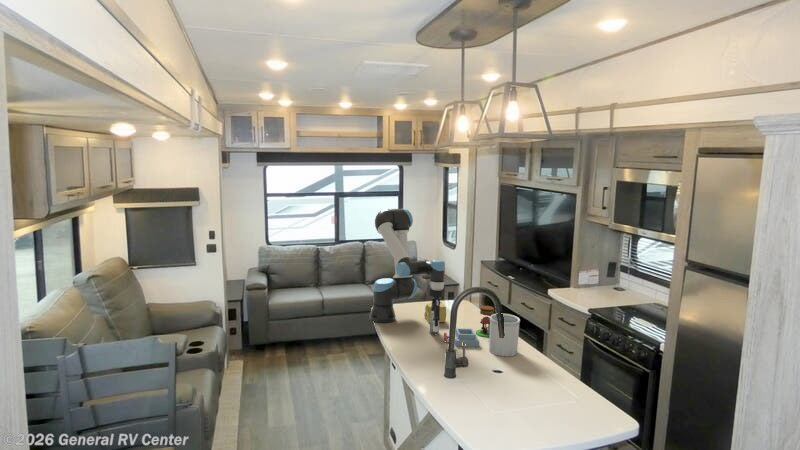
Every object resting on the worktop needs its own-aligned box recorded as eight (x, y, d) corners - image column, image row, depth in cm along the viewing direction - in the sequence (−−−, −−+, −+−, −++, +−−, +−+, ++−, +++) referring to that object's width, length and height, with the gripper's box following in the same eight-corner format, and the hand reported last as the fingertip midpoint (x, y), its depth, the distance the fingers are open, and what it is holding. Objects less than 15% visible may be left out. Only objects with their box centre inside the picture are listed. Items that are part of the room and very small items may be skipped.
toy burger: (472, 336, 267) (474, 309, 265) (476, 328, 279) (478, 303, 277) (494, 339, 263) (496, 312, 261) (497, 332, 275) (499, 306, 273)
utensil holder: (491, 357, 239) (493, 322, 237) (484, 345, 254) (487, 312, 252) (521, 357, 240) (523, 323, 238) (513, 346, 255) (515, 313, 252)
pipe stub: (429, 331, 271) (430, 310, 269) (438, 331, 271) (439, 310, 269) (430, 335, 266) (431, 313, 264) (439, 335, 266) (440, 313, 264)
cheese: (424, 317, 294) (424, 301, 293) (441, 317, 296) (442, 301, 295) (428, 323, 284) (429, 306, 283) (446, 323, 286) (447, 306, 285)
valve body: (442, 337, 265) (442, 326, 264) (473, 338, 265) (474, 327, 265) (445, 347, 251) (446, 335, 250) (478, 347, 252) (479, 336, 251)
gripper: (427, 283, 276) (425, 320, 279) (432, 294, 253) (429, 335, 256) (440, 283, 276) (438, 321, 279) (446, 294, 254) (444, 335, 257)
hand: (434, 328), depth 268 cm, fingers open, 10 cm apart
